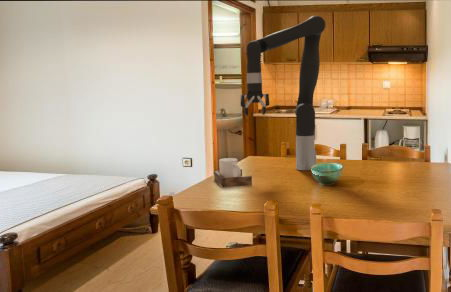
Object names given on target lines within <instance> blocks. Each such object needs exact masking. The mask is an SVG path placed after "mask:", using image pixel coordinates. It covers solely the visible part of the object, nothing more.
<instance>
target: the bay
mask: <svg viewBox="0 0 451 292" xmlns="http://www.w3.org/2000/svg"><path fill="white" fill-rule="evenodd" d="M240 170H241V175H240V177H227V178H224V177H223V176H222V175H221V174H220V170H214V171H213V175H214V180H215V182H216V183H217V184H219V186H221V187H222V188H231V187H232V188H234V187H244V186H253V176H252V175H243V169H242V168H240Z"/></svg>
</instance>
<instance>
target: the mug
mask: <svg viewBox="0 0 451 292" xmlns="http://www.w3.org/2000/svg"><path fill="white" fill-rule="evenodd" d="M218 164H219V171H220V174H221V175H222V176H223V177H224V178H227V177H240V175H241V170H240V169H241V167H240V166H239V164H238V158H234V157H227V158H226V157H225V158H220V159H219V160H218Z"/></svg>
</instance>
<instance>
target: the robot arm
mask: <svg viewBox="0 0 451 292" xmlns="http://www.w3.org/2000/svg"><path fill="white" fill-rule="evenodd" d="M325 29H326V21H325V19H324V18H323V17H322V16H319V15H312V16H310V17H309V18H307V20H305V21H302V22H301V23H298V24H297V25H295V26H292V27H289V28H285V29H282V30H279V31H276V32H273V33H271V34H268V35H266V36H264V37H262V38H258V39H256V40H251V41H249V42H248V43H247V45H246V48H245V49H246V60H247V61H246V62H247V63H246V94H240V105H239V106H240V107H241V108H244V110H243V111H244V115H245V116H249V106H250V105H251V104H255V103H257V104H260V106H261V115H263V116H264V115H266V113H267V108H266V107H268V106H270V94H269V93H267V92H266V93H263V76H262V62H261V59H262V58H261V57H262V54H263V53H265V52H267V51H270V50H274V49H277V48H280V47H282V46H284V45H287V44H289V43H292V42H293V41H297V40H299V39H302V38H304V43H303V50H302V54H301V55H302V56H301V62H300V67H299V78H298V79H299V81H298V87H299V88H298V97H297V103H296V106H295V109H294V114H295V119H296V120H295V122H296V123H295V126H296V127H295V160H296V161H295V163H296V165H295V166H296V167H295V168H296V170H298V171H312V170H311V167H312V166H313V165H315V164H316V165H317V150H316V149H315V147H316V146H315V145H316V144H315V139H316V138H315V135H316V134H315V133H316V132H315V130H316V110H315V108H314V94H315V89H316V87H317V82H318V80H319V74H320V64H321V63H320V60H321V59H320V42H321V36H322V34H323V32H324V31H325ZM263 98H264V100H265V102H264V100H263ZM246 99H247V101H246V102H245V100H246Z"/></svg>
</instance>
